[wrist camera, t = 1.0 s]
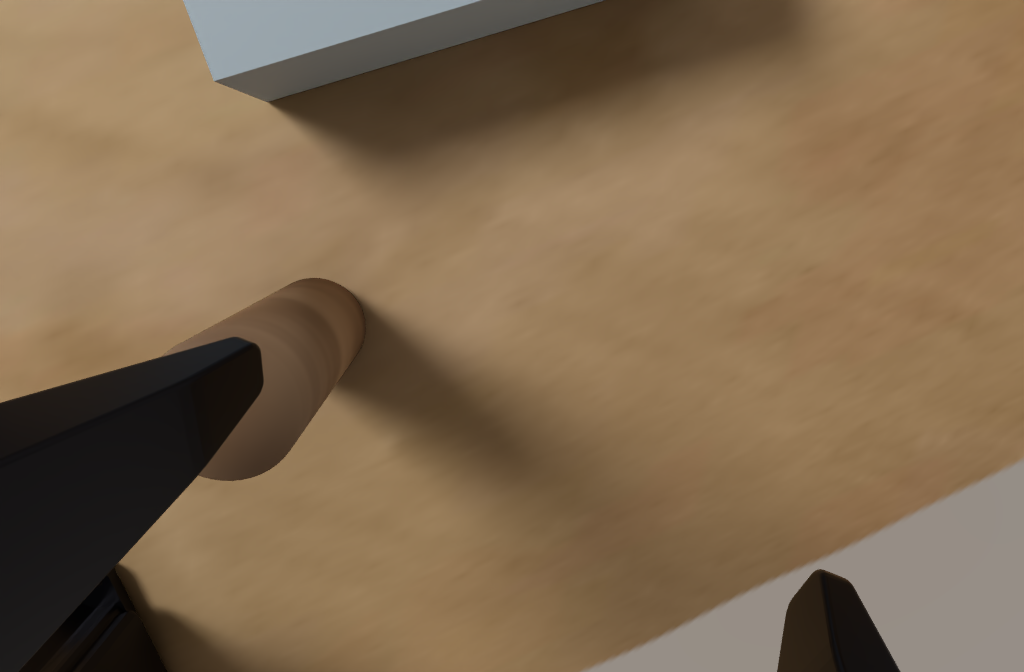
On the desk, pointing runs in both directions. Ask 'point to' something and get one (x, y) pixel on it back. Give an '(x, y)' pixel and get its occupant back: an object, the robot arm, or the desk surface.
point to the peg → (285, 369)
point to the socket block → (341, 36)
